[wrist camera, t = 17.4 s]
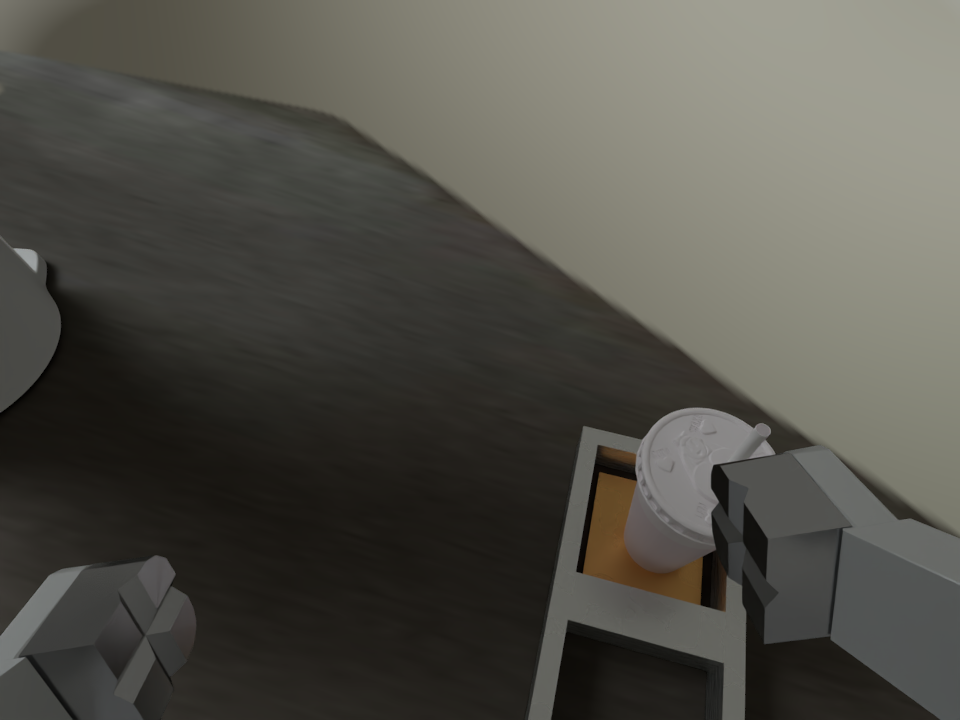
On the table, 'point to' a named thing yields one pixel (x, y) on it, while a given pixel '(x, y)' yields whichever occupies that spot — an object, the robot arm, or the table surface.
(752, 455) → the smoothie
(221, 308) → the table surface
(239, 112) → the table surface
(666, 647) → the cup holder
